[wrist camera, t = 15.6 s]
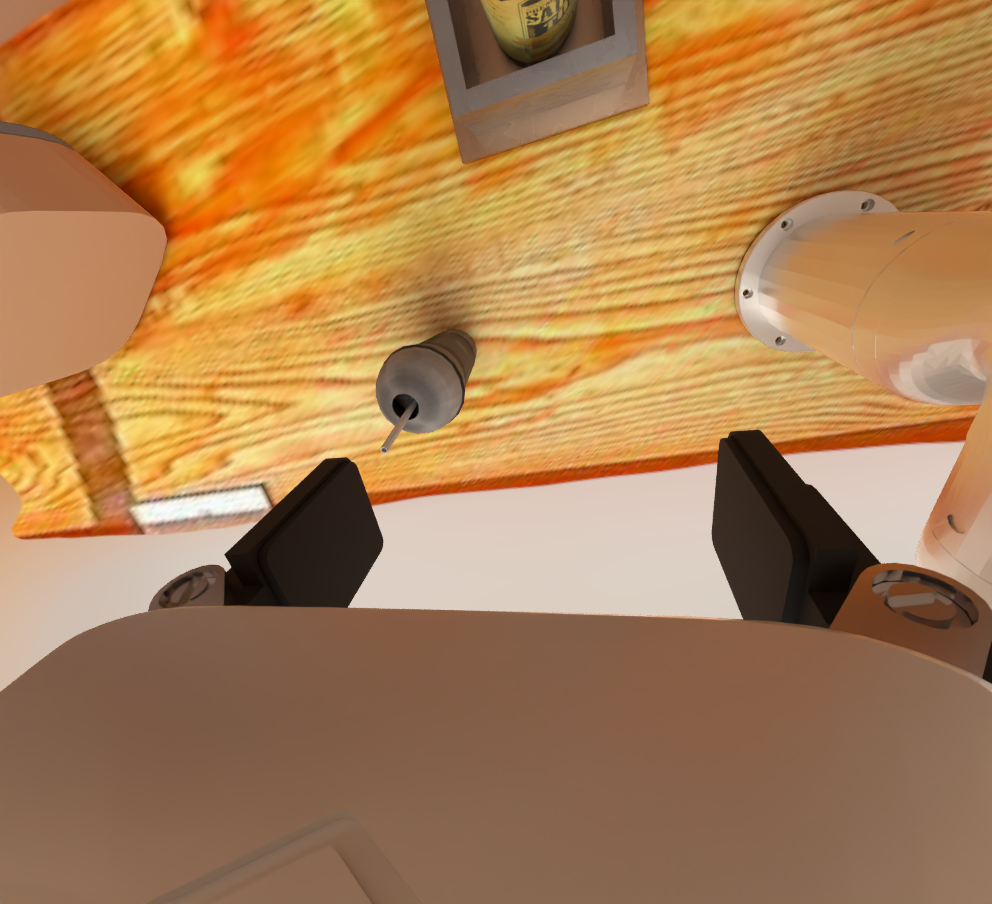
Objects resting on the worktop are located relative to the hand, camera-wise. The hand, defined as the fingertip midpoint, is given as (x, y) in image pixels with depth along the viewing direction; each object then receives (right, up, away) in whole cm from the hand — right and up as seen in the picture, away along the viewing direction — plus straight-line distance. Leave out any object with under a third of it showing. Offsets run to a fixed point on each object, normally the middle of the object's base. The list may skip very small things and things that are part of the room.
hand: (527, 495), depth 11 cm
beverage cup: (-5, +12, +34) cm, 36 cm away
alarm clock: (-42, +22, +35) cm, 59 cm away
